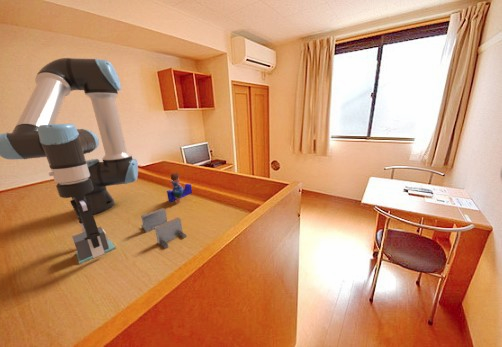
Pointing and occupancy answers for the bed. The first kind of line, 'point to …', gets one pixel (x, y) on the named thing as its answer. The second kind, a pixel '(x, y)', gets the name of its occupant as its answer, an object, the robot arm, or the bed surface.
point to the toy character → (176, 187)
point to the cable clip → (185, 193)
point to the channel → (162, 226)
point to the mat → (111, 247)
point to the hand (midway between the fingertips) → (94, 247)
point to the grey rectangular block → (84, 246)
